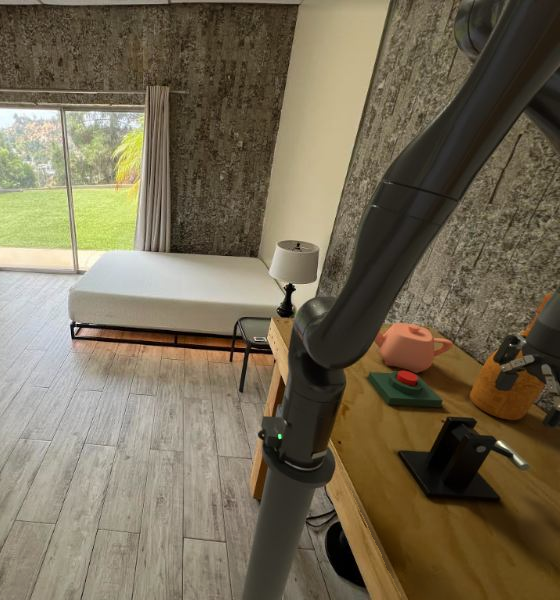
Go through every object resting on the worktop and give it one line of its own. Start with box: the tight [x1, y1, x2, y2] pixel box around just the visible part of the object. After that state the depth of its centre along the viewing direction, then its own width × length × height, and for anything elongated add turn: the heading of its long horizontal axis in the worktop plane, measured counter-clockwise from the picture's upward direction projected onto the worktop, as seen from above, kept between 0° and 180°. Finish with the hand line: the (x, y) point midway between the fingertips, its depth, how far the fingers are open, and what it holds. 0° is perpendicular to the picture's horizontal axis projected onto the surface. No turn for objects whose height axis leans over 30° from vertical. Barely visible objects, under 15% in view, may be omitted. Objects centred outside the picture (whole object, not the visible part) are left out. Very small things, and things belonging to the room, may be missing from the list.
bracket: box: [397, 416, 502, 503], centre depth 58 cm, size 12×9×13 cm
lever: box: [451, 423, 531, 472], centre depth 56 cm, size 12×5×2 cm, turn 86°
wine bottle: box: [469, 292, 554, 421], centre depth 70 cm, size 10×10×30 cm
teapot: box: [374, 322, 454, 374], centre depth 91 cm, size 13×20×12 cm, turn 58°
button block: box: [367, 370, 444, 408], centre depth 81 cm, size 12×10×4 cm
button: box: [396, 370, 418, 386], centre depth 80 cm, size 4×4×2 cm
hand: (524, 406), depth 54 cm, fingers open, 8 cm apart
